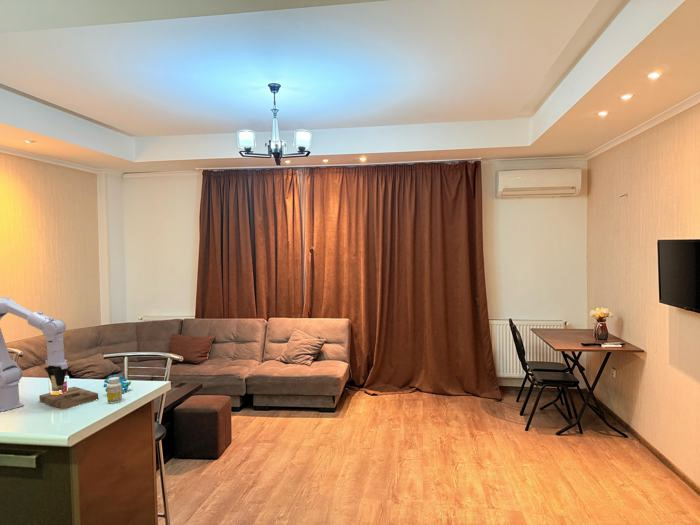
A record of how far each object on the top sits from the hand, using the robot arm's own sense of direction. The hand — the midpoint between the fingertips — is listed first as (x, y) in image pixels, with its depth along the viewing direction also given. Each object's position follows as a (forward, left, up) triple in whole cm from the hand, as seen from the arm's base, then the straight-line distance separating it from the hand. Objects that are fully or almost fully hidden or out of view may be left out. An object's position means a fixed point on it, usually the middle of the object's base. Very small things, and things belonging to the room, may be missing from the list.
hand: (57, 384), depth 191 cm
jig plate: (-5, +6, -9) cm, 12 cm away
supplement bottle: (+14, +15, -9) cm, 23 cm away
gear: (+4, +22, -9) cm, 24 cm away
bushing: (0, 0, -2) cm, 2 cm away
